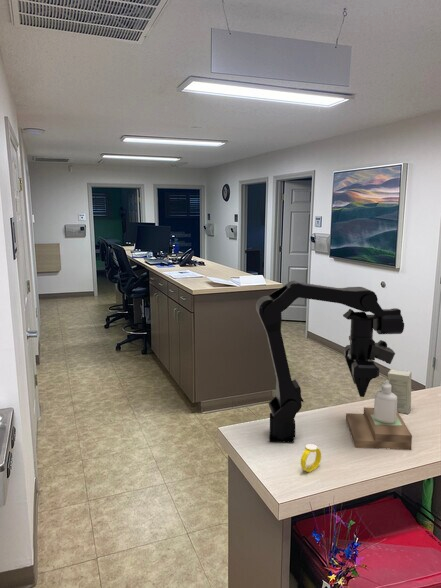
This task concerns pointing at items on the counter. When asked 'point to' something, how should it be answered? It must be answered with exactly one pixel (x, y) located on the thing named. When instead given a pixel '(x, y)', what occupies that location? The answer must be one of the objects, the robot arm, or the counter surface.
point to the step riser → (378, 431)
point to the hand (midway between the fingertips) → (358, 389)
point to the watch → (305, 454)
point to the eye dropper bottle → (385, 404)
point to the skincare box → (401, 389)
